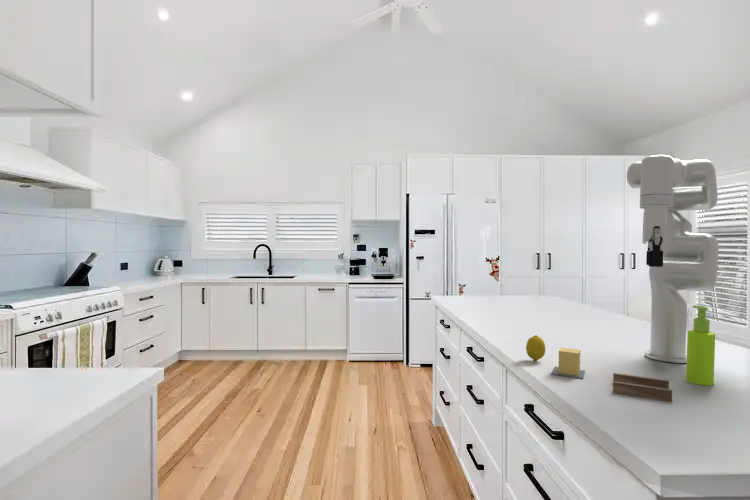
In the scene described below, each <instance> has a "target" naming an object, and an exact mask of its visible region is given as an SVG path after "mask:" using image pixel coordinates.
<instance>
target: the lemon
mask: <svg viewBox="0 0 750 500" xmlns="http://www.w3.org/2000/svg"><path fill="white" fill-rule="evenodd" d="M525 349H526V350H525V351H526V354H527V356H528V357H529V358H530V359H531V360H533V361H534V362H537V361H538V360H541V359H543V357H544V356H545V354H546V344H545V341H544V339H543V338H542V337H540V336H538V335H537V334H535V335H533V336H531V337H529V339H527V342H526V345H525Z"/></svg>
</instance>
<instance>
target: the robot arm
mask: <svg viewBox="0 0 750 500" xmlns="http://www.w3.org/2000/svg"><path fill="white" fill-rule="evenodd" d="M626 180H627V183H628V185H629V186H630V187H631V188H632V189H639V209H642V210H643V217H642V218H643V219H642V244H644V245H646V244H647V250H646V257H645V258H646V260H645V261H646V262H645V263H646V265H647V266H648V267H649V268H648V269H649V270H648V275H649V283H650V290H651V292H650V293H651V308H650V311H651V314H650V343H649V344H650V345H649V346H650V347H649V350H645V351H644V356H645V357H646V358H649V359H651V360H655V361H660V362H666V363H675V364H687V321H688V320H687V319H688V304H687V302H686V300H685V299H684V297H683V296H682V294H680V293H679V292H678V291H687V292H688V291H689V292H690V291H693V292H710V291H713V289H714V288H715V287H716V284H717V278H718V266H719V265H718V264H719V254H720V253H719V252H720V251H719V250H720V249H719V242H718V240H717V238H716V236H714V235H713V234H709V233H693V225H692V223H691V222H690V220H688V219H687V217H685V216H684V215H683V214H681V213H679V211H681V212H683V211H707V210H711V209H713V208H714V207H716V205H717V204H718V203H717V202H718V195H719V194H718V185H717V183H718V182H717V173H716V168H715V166H714V163H713V162H711V161H710V160H708V159H706V158H705V159H704V158H703V159H702V158H701V159H693V160H681V159H679V158H673V157H672V156H670V155H666V154H656V155H649V156H646V157H644V158H643V159H642V160H641V161H636V162H635V161H634V162H633V163H631V164H630V165H629V167H628V168H627V172H626Z"/></svg>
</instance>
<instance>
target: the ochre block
mask: <svg viewBox="0 0 750 500" xmlns="http://www.w3.org/2000/svg"><path fill="white" fill-rule="evenodd" d="M557 367H558V373H564V374H571V375H579V372H580V370H581V349H579V348H570V347H563V346H562V347H561V348H559V350H558V366H557Z"/></svg>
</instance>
